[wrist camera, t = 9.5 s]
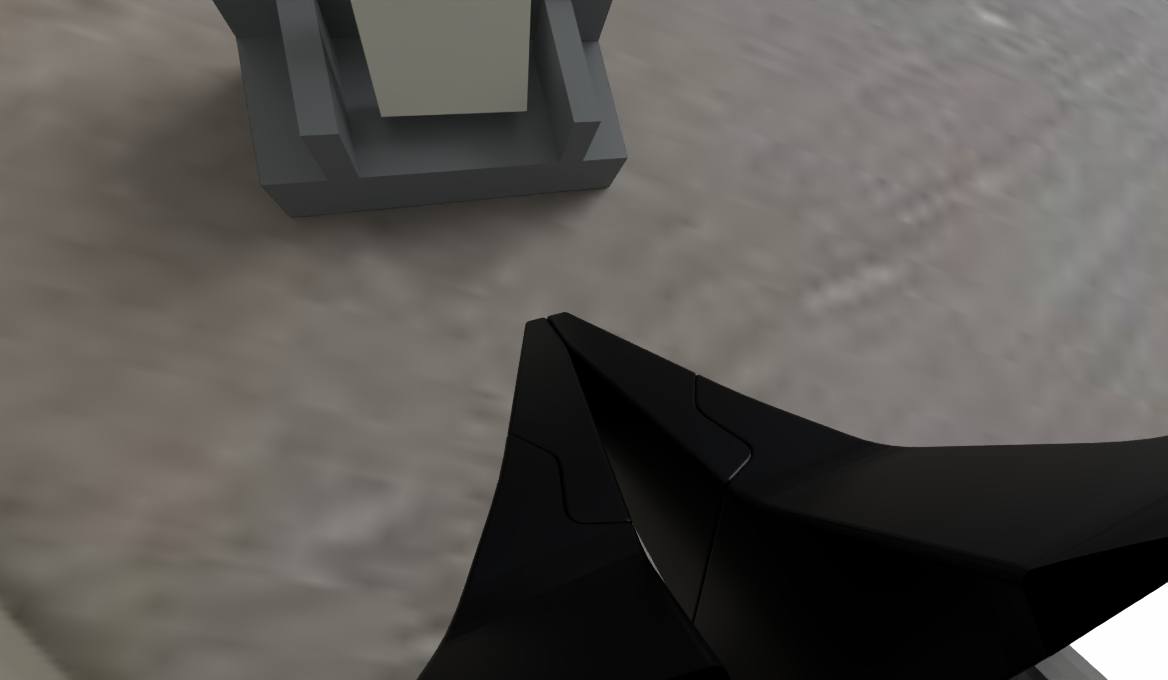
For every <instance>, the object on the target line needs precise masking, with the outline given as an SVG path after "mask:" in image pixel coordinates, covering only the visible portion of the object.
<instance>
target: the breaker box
mask: <svg viewBox="0 0 1168 680" xmlns="http://www.w3.org/2000/svg"><path fill="white" fill-rule="evenodd" d="M213 2H214V3H215V5H216V6H217V8H218V10H219V11H220V13H221V14H222V16H223V18H224V19H225V21H226V22H227V24H228V25H229V27H230V29H231V30H232V32H233V33H234V35H235V36H236V40H237V46H238V52H239V58H240V64H241V70H242V76H243V82H244V88H245V94H246V100H247V106H248V112H249V118H250V124H251V130H252V136H253V142H254V148H255V154H256V160H257V166H258V173H259V179H260V185H261V186H262V187H263V188H264V190H265V191H266V192H267V193H268V194H269V195H270V196H271V197H272V198H273V199H274V200H275V201H276V202H277V203H278V204H279V205H280V206H281V208H282V209H283V210H284V211H285V212H286V213H287V214H288V215H289V216H290V217H291V218H294V217H304V216H314V215H325V214H335V213H345V212H356V211H366V210H376V209H387V208H397V207H407V206H418V205H428V204H438V203H449V202H459V201H469V200H480V199H490V198H500V197H511V196H521V195H531V194H542V193H552V192H563V191H573V190H583V189H594V188H604V187H609V186H610V185H611V183H612V182H613V180H614V178H615V177H616V175H617V174H618V172H619V170H620V169H621V167H622V166H623V164H624V163H625V161H626V159H627V158H628V156H627V153H626V149H625V145H624V141H623V137H622V133H621V129H620V125H619V121H618V117H617V113H616V109H615V105H614V101H613V97H612V93H611V89H610V85H609V82H608V78H607V74H606V70H605V66H604V62H603V58H602V54H601V50H600V46H599V42H598V40H599V37H600V34H601V31H602V29H603V26H604V23H605V20H606V17H607V14H608V12H609V9H610V6H611V3H612V0H531V12H530V38H529V65H528V91H527V111H519V112H493V113H467V114H442V115H416V116H391V117H381V114H380V110H379V106H378V102H377V98H376V95H375V91H374V87H373V83H372V80H371V76H370V72H369V68H368V64H367V61H366V57H365V53H364V49H363V46H362V42H361V38H360V34H359V31H358V27H357V23H356V19H355V15H354V12H353V8H352V4H351V0H213Z"/></svg>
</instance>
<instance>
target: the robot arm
mask: <svg viewBox="0 0 1168 680" xmlns="http://www.w3.org/2000/svg"><path fill="white" fill-rule="evenodd" d="M632 523H633V525H634V526H633V525H632ZM634 527H635V528H634ZM635 529H636V530H635ZM636 531H637V532H638V534H639V536H640V538H641V540H642V542H643V543H644V545H645V547H646V549H647V551H648V553H649V555H650V556H651V558H652V560H653V562H654V564H655V566H656V567H657V569H658V571H659V573H660V575H661V577H662V578H663V580H664V581H663V580H662V579H661V577H660V576H659V574H658V573H657V572H656V570H655V569H654V567H653V566H652V564H651V562H650V561H649V559H648V557H647V555H646V553H645V551H644V549H643V547H642V545H641V542H640V540H639V538H638V535H637V533H636ZM664 582H665V583H664ZM417 680H1168V436H1162V437H1157V438H1151V439H1142V440H1132V441H1122V442H1102V443H1070V444H1027V445H985V446H942V447H902V446H891V445H885V444H879V443H875V442H871V441H867V440H863V439H860V438H857V437H854V436H851V435H848V434H845V433H843V432H840V431H837V430H835V429H832V428H829V427H827V426H824V425H821V424H819V423H816V422H813V421H811V420H808V419H805V418H802V417H800V416H797V415H794V414H792V413H789V412H786V411H784V410H781V409H778V408H776V407H773V406H771V405H768V404H765V403H763V402H760V401H758V400H755V399H753V398H750V397H748V396H745V395H743V394H740V393H738V392H736V391H734V390H731V389H729V388H727V387H725V386H722V385H720V384H718V383H716V382H714V381H711V380H709V379H707V378H705V377H703V376H701V375H697V376H696V374H695V373H694V372H692V371H690V370H688V369H686V368H684V367H682V366H679V365H677V364H675V363H673V362H671V361H669V360H667V359H665V358H662V357H660V356H658V355H656V354H654V353H652V352H650V351H648V350H646V349H643V348H641V347H639V346H637V345H635V344H633V343H631V342H629V341H627V340H624V339H622V338H620V337H618V336H616V335H614V334H612V333H610V332H607V331H605V330H603V329H601V328H599V327H597V326H595V325H593V324H591V323H588V322H586V321H584V320H582V319H580V318H578V317H576V316H574V315H572V314H569V313H567V312H563V313H559V314H555V315H551V316H548V318H547V319H546V318H539V319H535V320H531V321H528V322H527V323H526V325H525V331H524V337H523V343H522V349H521V355H520V361H519V367H518V373H517V379H516V385H515V392H514V398H513V404H512V410H511V416H510V422H509V428H508V436H507V439H506V445H505V451H504V456H503V461H502V466H501V470H500V475H499V480H498V483H497V487H496V490H495V494H494V497H493V500H492V504H491V507H490V511H489V514H488V517H487V520H486V523H485V526H484V529H483V532H482V535H481V538H480V541H479V544H478V547H477V550H476V553H475V556H474V559H473V562H472V565H471V568H470V571H469V574H468V577H467V580H466V583H465V586H464V589H463V592H462V595H461V598H460V601H459V603H458V606H457V609H456V611H455V614H454V616H453V618H452V621H451V623H450V625H449V627H448V630H447V632H446V634H445V636H444V638H443V639H442V641H441V643H440V645H439V647H438V648H437V650H436V651H435V653H434V655H433V656H432V658H431V659H430V661H429V662H428V663H427V665H426V666H425V668H424V669H423V671H422V672H421V674H420V675H419V677H418V678H417Z"/></svg>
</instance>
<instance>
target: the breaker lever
mask: <svg viewBox="0 0 1168 680" xmlns="http://www.w3.org/2000/svg"><path fill="white" fill-rule="evenodd" d="M351 4H352V8H353V12H354V15H355V19H356V23H357V27H358V31H359V34H360V38H361V42H362V46H363V49H364V53H365V57H366V61H367V64H368V68H369V72H370V76H371V80H372V83H373V87H374V91H375V95H376V98H377V102H378V106H379V110H380V114H381V117H391V116H416V115H442V114H467V113H493V112H519V111H527V91H528V65H529V38H530V12H531V0H351Z"/></svg>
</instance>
